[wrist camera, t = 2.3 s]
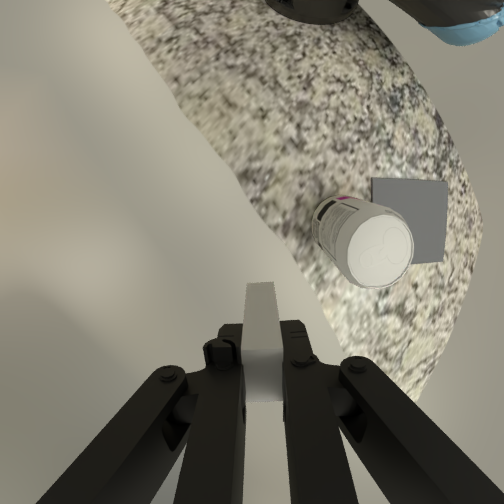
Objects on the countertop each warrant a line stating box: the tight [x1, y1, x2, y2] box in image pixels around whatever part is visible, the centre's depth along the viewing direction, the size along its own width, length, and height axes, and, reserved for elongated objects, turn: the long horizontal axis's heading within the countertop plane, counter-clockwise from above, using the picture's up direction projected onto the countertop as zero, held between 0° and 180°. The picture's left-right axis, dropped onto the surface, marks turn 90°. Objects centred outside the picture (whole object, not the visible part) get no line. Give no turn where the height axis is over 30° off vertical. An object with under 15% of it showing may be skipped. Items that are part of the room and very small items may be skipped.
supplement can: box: [311, 195, 414, 289], centre depth 31 cm, size 8×8×15 cm
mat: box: [371, 178, 448, 264], centre depth 37 cm, size 13×14×1 cm
